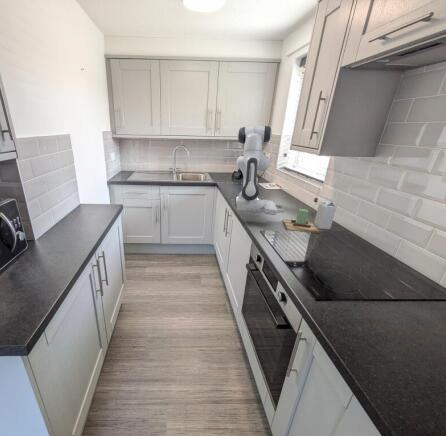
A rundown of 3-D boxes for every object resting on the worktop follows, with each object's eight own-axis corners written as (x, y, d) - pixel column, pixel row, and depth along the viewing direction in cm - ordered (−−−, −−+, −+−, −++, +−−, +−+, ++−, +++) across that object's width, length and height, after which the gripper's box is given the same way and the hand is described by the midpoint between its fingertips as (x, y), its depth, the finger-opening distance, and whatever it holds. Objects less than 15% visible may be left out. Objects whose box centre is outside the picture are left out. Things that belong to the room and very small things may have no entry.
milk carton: (324, 225, 152) (332, 197, 145) (330, 229, 145) (338, 200, 139) (313, 224, 152) (320, 197, 146) (318, 229, 146) (326, 200, 139)
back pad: (295, 223, 150) (298, 208, 147) (303, 224, 149) (307, 209, 145) (296, 225, 146) (300, 210, 143) (305, 226, 145) (308, 211, 142)
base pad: (282, 220, 158) (283, 216, 157) (311, 224, 154) (312, 219, 153) (286, 229, 143) (287, 225, 142) (318, 233, 139) (319, 228, 138)
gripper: (262, 206, 140) (286, 209, 137) (260, 197, 159) (281, 199, 155) (260, 216, 142) (284, 218, 139) (258, 206, 161) (279, 208, 158)
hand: (282, 208), depth 147 cm, fingers open, 8 cm apart
